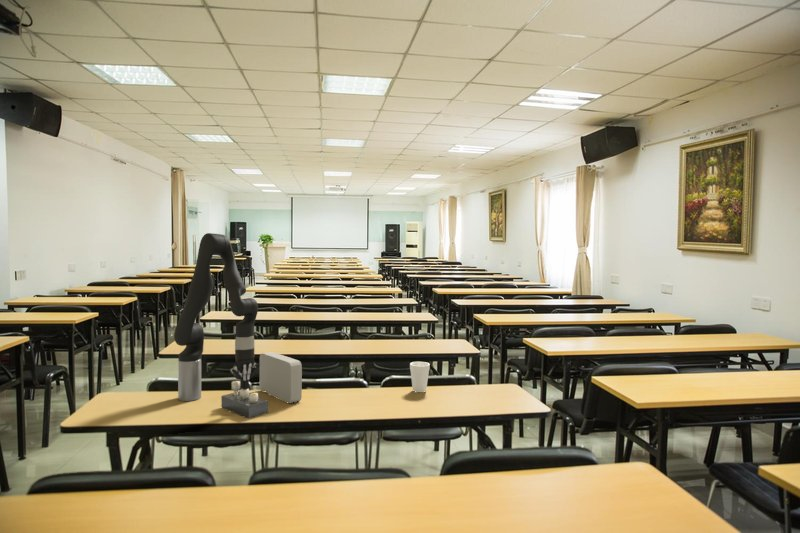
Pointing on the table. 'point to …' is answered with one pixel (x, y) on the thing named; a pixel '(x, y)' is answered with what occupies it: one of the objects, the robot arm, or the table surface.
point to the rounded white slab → (281, 376)
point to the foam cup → (419, 375)
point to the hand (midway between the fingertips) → (244, 388)
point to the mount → (244, 405)
